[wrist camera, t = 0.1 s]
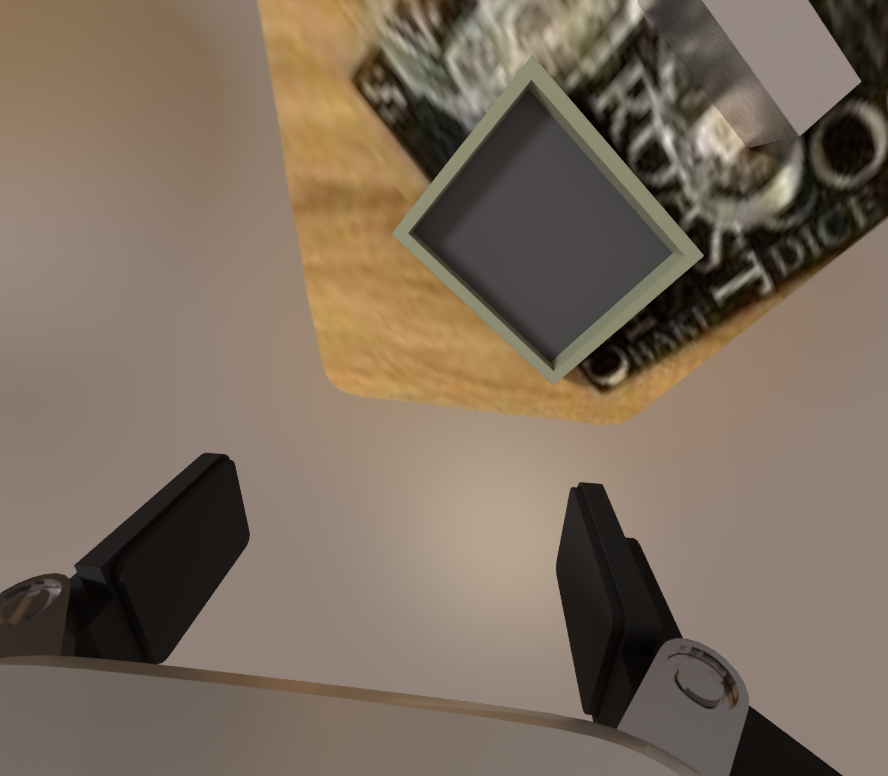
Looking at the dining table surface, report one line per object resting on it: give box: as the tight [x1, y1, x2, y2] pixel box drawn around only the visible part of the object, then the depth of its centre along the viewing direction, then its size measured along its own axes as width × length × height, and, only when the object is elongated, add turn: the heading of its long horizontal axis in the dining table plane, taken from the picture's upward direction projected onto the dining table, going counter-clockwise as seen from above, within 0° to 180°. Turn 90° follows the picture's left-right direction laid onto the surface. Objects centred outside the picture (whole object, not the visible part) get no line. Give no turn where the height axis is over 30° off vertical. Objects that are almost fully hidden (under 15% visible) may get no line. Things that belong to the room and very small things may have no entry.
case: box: [392, 55, 704, 385], centre depth 35 cm, size 16×20×4 cm
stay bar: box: [637, 0, 861, 148], centre depth 28 cm, size 4×14×6 cm, turn 47°
